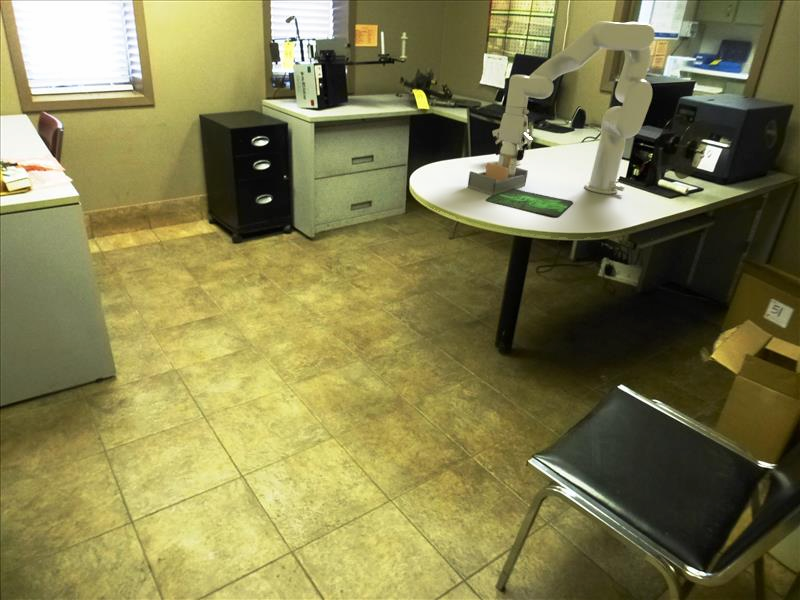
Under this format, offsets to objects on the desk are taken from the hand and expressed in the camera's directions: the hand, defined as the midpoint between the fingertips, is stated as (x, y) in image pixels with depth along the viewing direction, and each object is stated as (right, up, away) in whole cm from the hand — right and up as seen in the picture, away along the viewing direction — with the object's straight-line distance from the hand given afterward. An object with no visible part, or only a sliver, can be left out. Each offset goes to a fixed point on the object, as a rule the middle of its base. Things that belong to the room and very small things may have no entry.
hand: (508, 157), depth 218 cm
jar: (+8, +6, +36) cm, 38 cm away
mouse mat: (+5, -20, -12) cm, 23 cm away
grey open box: (-4, -11, +2) cm, 12 cm away
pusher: (-7, -11, -1) cm, 13 cm away
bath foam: (-1, -9, +5) cm, 10 cm away
